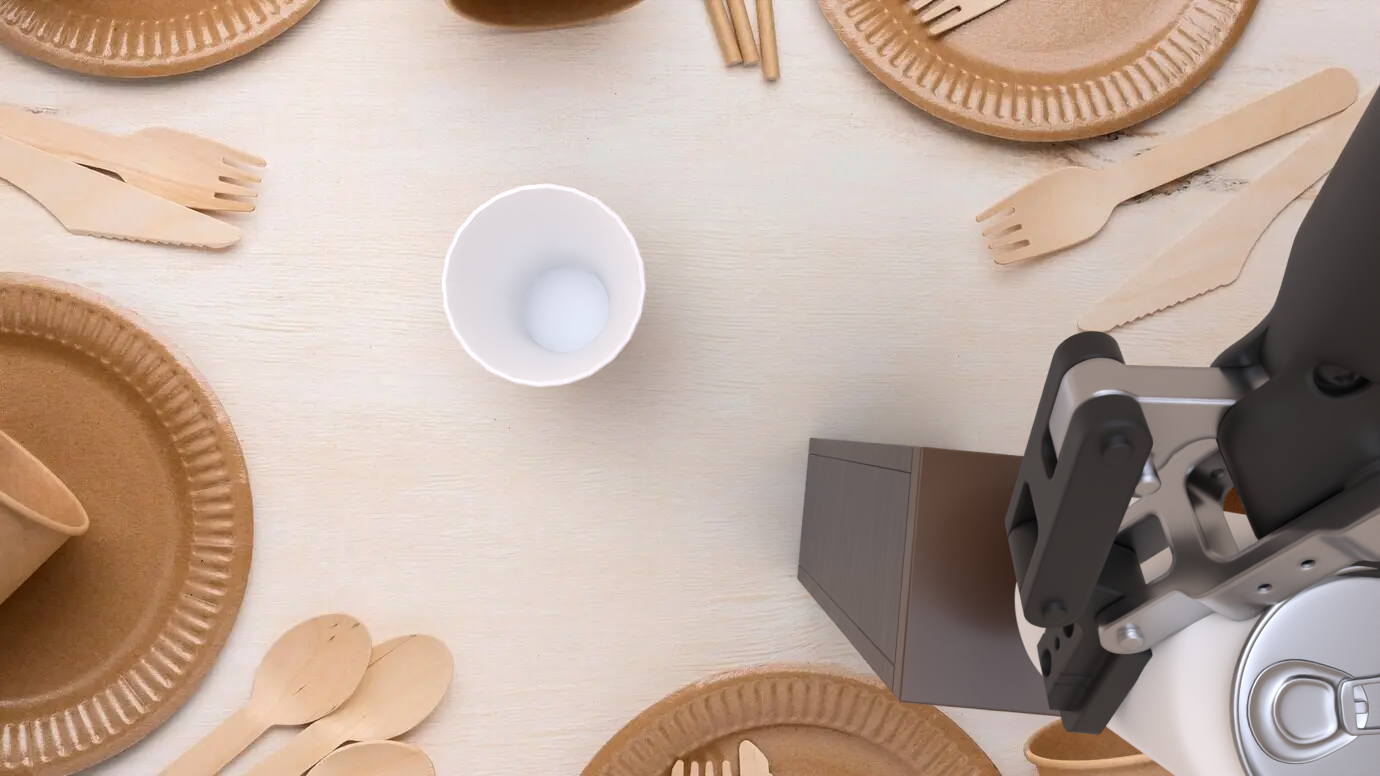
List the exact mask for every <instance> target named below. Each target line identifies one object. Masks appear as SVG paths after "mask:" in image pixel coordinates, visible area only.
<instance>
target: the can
mask: <svg viewBox="0 0 1380 776" xmlns="http://www.w3.org/2000/svg"><path fill="white" fill-rule="evenodd" d="M1139 499H1140V498H1133V497H1132V499H1131V501H1130V503H1129V506H1130V505H1131V504H1133V503H1134V502H1136V501H1137V500H1139ZM1223 512H1224V515H1225V518H1226V520H1227V523H1228V525H1229V528H1230V530H1231V533H1232V535H1233V538H1234V540H1235V542H1236V545H1237V547H1238V550H1239V552H1240V551H1241V550H1243V549H1245V548H1246V547H1248V546H1250V545H1252V544H1253V543H1255V542H1257V541H1258V540H1257V538H1256V537H1255V535H1254V533H1253V530H1252V528H1251V526H1250V523H1249V521H1248V519H1247V516H1246V514H1244V513H1243V514H1242V513H1238V512H1231V511H1225V510H1223ZM1171 563H1172V553H1171V550H1170V547H1168V548H1166V549H1164V550H1163V551H1161V552H1160V553H1158V554H1156V555H1155V556H1153V557H1152V558H1150V559H1148V560H1147V561H1145V562H1143V563H1142V564H1140V567H1141V570H1142V573H1143V576H1144V579H1145V583H1146V584H1147V583H1149V582H1151V581H1152V580H1154V579H1156V578H1157V577H1159V576H1161V575H1162V574H1164V573H1165V572H1166V571H1167V570H1168V569H1169V567H1170V566H1171ZM1374 569H1377V568H1372V567H1363V566H1348V567H1346V568H1344V569H1342V570H1340V571H1338V572H1337V573H1335V574H1333V575H1331V576H1329V577H1327V578H1325V579H1323V580H1322V581H1320V582H1318V583H1316V584H1314V585H1312V586H1310V587H1309V588H1307V589H1305V590H1303V591H1301V592H1299V593H1297V594H1296V595H1294V596H1292V597H1290V598H1288V599H1286V600H1284V601H1282V602H1281V603H1279V604H1276V605H1273V606H1271V607H1269V608H1267V609H1266V610H1265V611H1264V612H1262V613H1260V614H1258V615H1256V616H1255V617H1253V618H1251V619H1249V620H1246V621H1233V620H1231V619H1229V618H1227V617H1225V616H1223V615H1221V614H1219V613H1214V614H1211V615H1209V616H1207V617H1205V618H1203V619H1201V620H1199V621H1197V622H1195V623H1194V624H1192V625H1190V626H1188V627H1187V628H1185V629H1184V630H1182V631H1180V632H1178V633H1177V634H1175V635H1173V636H1171V637H1169V638H1168V639H1166V640H1164V641H1162V642H1160V643H1158V644H1157V645H1155V646H1153V647H1151V650H1152V654H1153V656H1152V658H1151V659H1150V660H1149V662H1148V663H1147V665H1146V666H1145V668H1144V669H1143V671H1142V673H1141V674H1140V676H1139V678H1138V680H1137V681H1136V683H1135V684H1134V686H1133V687H1132V689H1131V690H1130V692H1129V693H1128V695H1127V696H1126V698H1125V699H1124V700H1123V702H1122V703H1121V705H1120V706H1119V708H1118V709H1117V711H1116V712H1115V714H1114V715H1113V717H1112V718H1111V720H1110V721H1109V723H1108V724H1107V725H1106V727H1105V728H1107V729H1109V730H1110V731H1112V732H1113V733H1114V734H1116V735H1117V736H1118V737H1120V738H1121V739H1123V740H1124V741H1125V742H1127V743H1128V744H1129V745H1131V746H1132V747H1134V748H1135V749H1136V750H1138V751H1139V752H1141V753H1142V754H1143V755H1145V756H1146V757H1148V758H1149V759H1151V760H1152V761H1154V762H1155V763H1156V764H1157V765H1159V766H1161V768H1163V769H1164V770H1166V771H1167V772H1169V773H1171V774H1172V775H1173V776H1380V578H1373V577H1360V576H1336V575H1340V574H1344V573H1348V572H1354V571H1361V570H1374ZM1015 611H1016V618H1017V623H1018V628H1019V631H1020V635H1021V638H1022V641H1023V644H1024V646H1025V649H1026V651H1027V653H1028V655H1029V657H1030V659H1031V661H1032V662H1033V664H1034V666H1035V667H1036V668H1037V670H1038V671H1039V672H1040V674H1041V675H1042V671H1041V666H1040V662H1039V657H1038V650H1037V644H1038V642H1039V640H1040V639H1041V637H1042V635H1043V633H1045V629H1046V628H1041V627H1037V626H1034V625H1032V624H1030V623H1029V622H1028V621H1027V620H1026V619H1025V617H1024V614H1023V609H1022V604H1021V599H1020V594H1019V590H1018V585H1017V583H1016V589H1015Z"/></svg>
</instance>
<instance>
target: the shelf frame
mask: <svg viewBox="0 0 1380 776" xmlns="http://www.w3.org/2000/svg"><path fill="white" fill-rule="evenodd" d="M915 446H916V445H908V444H894V443H882V442H869V441H857V440H856V441H855V440H844V439H843V440H842V439H830V438H829V439H828V438H817V437H810V438H809V443H808V454H807V464H806V475H805V476H806V478H805V486H804V487H805V488H804V498H803V508H802V509H803V510H802V520H801V532H800V542H799V543H800V546H799V555H798V566H797V568H798V569H797V580H798V581H799V583H800V584H801V585H802V586H803V587H804V589H805V590H806V592H808V594H809V595H810V596H811V597H812V598H813V600H814V601H815V602H816V603H817V604H818V605H819V607H820V608H821V609H822V610H823V612H824V613H825V614H826V616H828V618H829V619H830V620H831V622H833V623H834V625H835V626H836V627H837V628H838V630H839V631H840V632H841V633H842V634H843V636H844V637H845V638H846V639H847V640H848V641H849V643H850V644H851V645H852V646H853V648H854V649H855V650H856V651H857V653H858V654H859V655H860V656H861V657H862V658H863V660H864V661H865V662H866V664H867V665H868V666H869V667H870V669H871V670H872V671H873V672H874V673H875V674H876V675H877V677H878V678H879V679H880V681H882V683H883V684H884V685H885V686H886V687H887V689H888V690H889V691H890V692H891V693H892V694H893V684H894V672H895V660H896V648H897V636H898V625H899V613H900V601H901V589H902V577H903V565H904V554H905V542H906V530H907V518H908V506H909V495H910V483H911V471H912V459H913V448H914V447H915Z"/></svg>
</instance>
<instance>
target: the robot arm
mask: <svg viewBox="0 0 1380 776" xmlns="http://www.w3.org/2000/svg"><path fill="white" fill-rule="evenodd" d="M1294 236H1295V237H1294V239H1293V242H1292V245H1291V248H1290V251H1289V255H1288V258H1287V262H1286V266H1285V269H1284V273H1283V276H1282V280H1281V284H1280V286H1279V290H1278V292H1277V295H1276V298H1275V301H1274V304H1273V305H1272V307H1271V309H1270V311H1269V312H1268V313H1267V314H1266V316H1265V317H1264V318H1263V319H1262V320H1261V321H1260V322H1259V323H1258V324H1256V326H1255V327H1254V328H1252V329H1251V330H1250V331H1249V332H1248V333H1246V334H1245V335H1244V336H1243V337H1241V338H1239V339H1238V340H1236V341H1235V342H1234V343H1232V344H1231V345H1230V346H1229V347H1227V348H1225V349H1224V350H1223V351H1222V352H1221V353H1220V354H1219V355H1218V356H1216V358H1215V359H1213V361H1212V362H1211V364H1210V365H1209V367H1208V366H1180V365H1179V366H1178V365H1176V366H1174V365H1146V364H1145V365H1143V364H1141V365H1140V364H1126V362H1125V359H1124V356H1123V353H1122V350H1121V348H1120V345H1119V343H1118V342H1117V340H1116V339H1115V337H1113V336H1112V335H1110V334H1109V333H1106V332H1103V331H1099V330H1098V331H1097V330H1089V331H1088V330H1087V331H1082V332H1078V333H1075V334H1073V335H1071V336H1069V337H1067V338H1065V339H1064V340H1062V341H1061V342H1060V343H1059V344H1058V346H1057V347H1056V348H1055V350H1054V353H1053V354H1052V358H1051V362H1050V365H1049V368H1048V372H1047V374H1046V378H1045V382H1044V386H1043V388H1042V392H1041V395H1040V399H1039V402H1038V404H1037V405H1038V406H1037V409H1036V412H1035V417H1034V419H1033V423H1032V426H1031V428H1030V429H1031V430H1030V433H1029V436H1028V440H1027V442H1026V447H1025V449H1024V454H1023V455H1022V456H1023V460H1022V463H1021V467H1020V470H1019V473H1018V477H1017V480H1016V484H1015V487H1014V490H1013V494H1012V497H1011V501H1010V504H1009V507H1008V511H1007V514H1006V518H1005V526H1006V531H1007V536H1008V541H1009V546H1010V551H1011V556H1012V561H1013V565H1014V570H1015V575H1016V580H1017V585H1018V590H1019V594H1020V599H1021V604H1022V609H1023V614H1024V617H1025V619H1026V620H1027V621H1028V622H1029V623H1030V624H1032V625H1034V626H1037V627H1041V628H1046V629H1045V633H1043V635H1042V637H1041V639H1040V640H1039V642H1038V644H1037V650H1038V657H1039V662H1040V666H1041V671H1042V676H1043V681H1044V685H1045V690H1046V695H1047V699H1048V704H1049V709H1050V710H1060V715H1061V717H1060V719H1061V722H1062V723H1061V724H1062V726H1063V728H1064V730H1065V731H1066V732H1067V733H1072V734H1073V733H1074V734H1076V733H1077V734H1083V735H1084V734H1085V735H1097V736H1098V735H1101V734H1102V733H1103V731H1104V730H1105V728H1107V727H1106V725H1107V724H1108V723H1109V721H1110V720H1111V718H1112V717H1113V715H1114V714H1115V712H1116V711H1117V709H1118V708H1119V706H1120V705H1121V703H1122V702H1123V700H1124V699H1125V698H1126V696H1127V695H1128V693H1129V692H1130V690H1131V689H1132V687H1133V686H1134V684H1135V683H1136V681H1137V680H1138V678H1139V676H1140V674H1141V673H1142V671H1143V669H1144V668H1145V666H1146V665H1147V663H1148V662H1149V660H1150V659H1151V658H1152V656H1153V654H1152V650H1151V647H1153V646H1155V645H1157V644H1158V643H1160V642H1162V641H1164V640H1166V639H1168V638H1169V637H1171V636H1173V635H1175V634H1177V633H1178V632H1180V631H1182V630H1184V629H1185V628H1187V627H1188V626H1190V625H1192V624H1194V623H1195V622H1197V621H1199V620H1201V619H1203V618H1205V617H1207V616H1209V615H1211V614H1214V613H1219V614H1221V615H1223V616H1225V617H1227V618H1229V619H1231V620H1233V621H1246V620H1249V619H1251V618H1253V617H1255V616H1256V615H1258V614H1260V613H1262V612H1264V611H1265V610H1266V609H1267V608H1269V607H1271V606H1273V605H1276V604H1279V603H1281V602H1282V601H1284V600H1286V599H1288V598H1290V597H1292V596H1294V595H1296V594H1297V593H1299V592H1301V591H1303V590H1305V589H1307V588H1309V587H1310V586H1312V585H1314V584H1316V583H1318V582H1320V581H1322V580H1323V579H1325V578H1327V577H1329V576H1331V575H1333V574H1335V573H1337V572H1338V571H1340V570H1342V569H1344V568H1346V567H1348V566H1363V567H1372V568H1377V569H1374V570H1361V571H1354V572H1348V573H1344V574H1340V575H1336V576H1360V577H1373V578H1380V84H1379V85H1378V86H1377V89H1376V90H1375V92H1374V94H1373V96H1372V98H1371V100H1370V101H1369V102H1368V105H1367V106H1366V108H1365V110H1364V112H1363V114H1362V115H1361V117H1360V119H1359V121H1358V122H1357V124H1356V126H1355V128H1354V129H1353V131H1352V133H1351V134H1350V137H1349V138H1348V140H1347V141H1346V143H1345V145H1344V147H1343V149H1342V150H1341V152H1340V154H1339V156H1338V158H1337V159H1336V161H1335V163H1334V165H1333V167H1332V168H1331V170H1330V172H1329V174H1328V175H1327V177H1326V179H1325V180H1324V182H1323V184H1322V186H1321V188H1320V190H1319V191H1318V193H1317V195H1316V197H1315V199H1314V200H1313V202H1312V204H1311V205H1310V207H1309V209H1308V211H1307V212H1306V213H1305V216H1304V218H1303V220H1302V221H1301V223H1300V225H1299V228H1298V229H1297V231H1296V233H1295V235H1294ZM1233 488H1234V489H1235V492H1236V495H1237V498H1238V500H1239V502H1240V504H1241V506H1242V509H1243V512H1244V515H1246V516H1247V519H1248V521H1249V523H1250V526H1251V528H1252V530H1253V533H1254V535H1255V537H1256V538H1257V540H1258V541H1257V542H1255V543H1253V544H1252V545H1250V546H1248V547H1246V548H1245V549H1243V550H1241V551H1240V552H1239V550H1238V547H1237V545H1236V542H1235V540H1234V538H1233V535H1232V533H1231V530H1230V528H1229V525H1228V523H1227V520H1226V518H1225V515H1224V512H1223V511H1224V502H1225V499H1226V497H1227V495H1228V493H1229V492H1230V491H1231V490H1232V489H1233ZM1134 493H1135V494H1137V495H1140V496H1142V497H1141V498H1140V499H1139V500H1137V501H1136V502H1134V503H1133V504H1131V505H1130V506H1129V503H1130V501H1131V499H1132V496H1133V494H1134ZM1168 547H1170V550H1171V553H1172V563H1171V566H1170V567H1169V569H1168V570H1167V571H1166V572H1165V573H1164V574H1162V575H1161V576H1159V577H1157V578H1156V579H1154V580H1152V581H1151V582H1149V583H1147V584H1146V583H1145V579H1144V576H1143V573H1142V570H1141V567H1140V564H1142V563H1143V562H1145V561H1147V560H1148V559H1150V558H1152V557H1153V556H1155V555H1156V554H1158V553H1160V552H1161V551H1163V550H1164V549H1166V548H1168Z"/></svg>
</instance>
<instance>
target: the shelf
mask: <svg viewBox="0 0 1380 776" xmlns="http://www.w3.org/2000/svg"><path fill="white" fill-rule="evenodd" d="M914 446H915V447H914V448H913V459H912V471H911V483H910V495H909V506H908V518H907V530H906V542H905V554H904V565H903V577H902V589H901V601H900V613H899V625H898V636H897V648H896V660H895V672H894V684H893V693H892V695H893V696H894V697H895V698H896V699H897V700H898V702H900V703H903V704H915V705H923V706H925V705H926V706H936V707H946V708H947V707H948V708H959V709H969V710H981V711H990V712H991V711H992V712H993V711H994V712H1003V713H1014V714H1024V715H1025V714H1026V715H1036V716H1048V717H1049V716H1050V717H1060V718H1061V715H1060V710H1050V709H1049V704H1048V699H1047V695H1046V690H1045V685H1044V681H1043V676H1042V675H1041V674H1040V672H1039V671H1038V670H1037V668H1036V667H1035V666H1034V664H1033V662H1032V661H1031V659H1030V657H1029V655H1028V653H1027V651H1026V649H1025V646H1024V644H1023V641H1022V638H1021V635H1020V631H1019V628H1018V623H1017V618H1016V611H1015V589H1016V583H1017V580H1016V575H1015V570H1014V565H1013V561H1012V556H1011V551H1010V546H1009V541H1008V536H1007V531H1006V526H1005V518H1006V514H1007V511H1008V507H1009V504H1010V501H1011V497H1012V494H1013V490H1014V487H1015V484H1016V480H1017V477H1018V473H1019V470H1020V467H1021V463H1022V460H1023V456H1024V455H1018V454H1007V453H996V452H985V451H975V450H974V451H973V450H964V449H954V448H944V447H943V448H941V447H933V446H932V447H931V446H921V445H920V446H919V445H914ZM1132 497H1133V498H1141V497H1142V496H1140V495H1137V494H1135V493H1134V494H1133V496H1132Z"/></svg>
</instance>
